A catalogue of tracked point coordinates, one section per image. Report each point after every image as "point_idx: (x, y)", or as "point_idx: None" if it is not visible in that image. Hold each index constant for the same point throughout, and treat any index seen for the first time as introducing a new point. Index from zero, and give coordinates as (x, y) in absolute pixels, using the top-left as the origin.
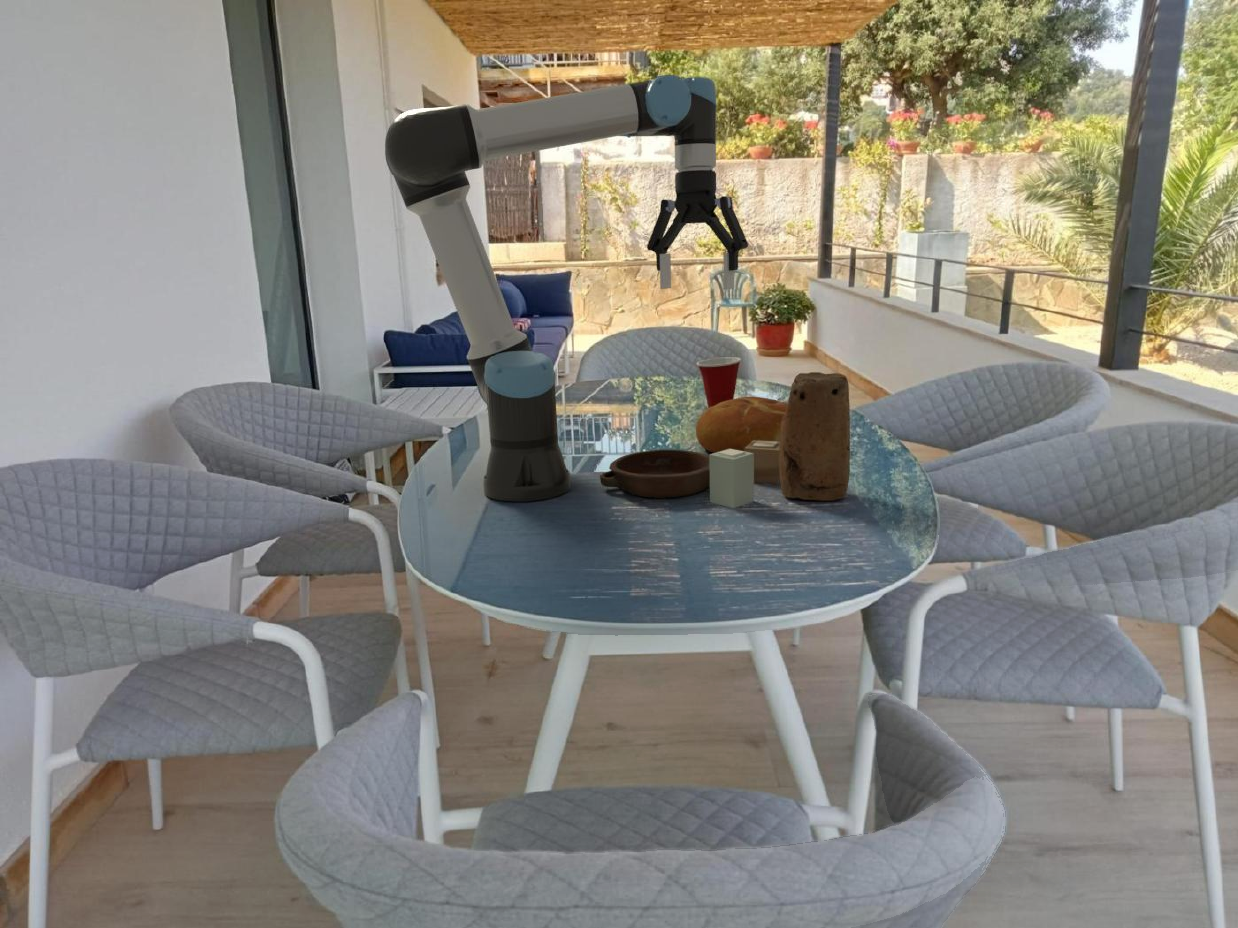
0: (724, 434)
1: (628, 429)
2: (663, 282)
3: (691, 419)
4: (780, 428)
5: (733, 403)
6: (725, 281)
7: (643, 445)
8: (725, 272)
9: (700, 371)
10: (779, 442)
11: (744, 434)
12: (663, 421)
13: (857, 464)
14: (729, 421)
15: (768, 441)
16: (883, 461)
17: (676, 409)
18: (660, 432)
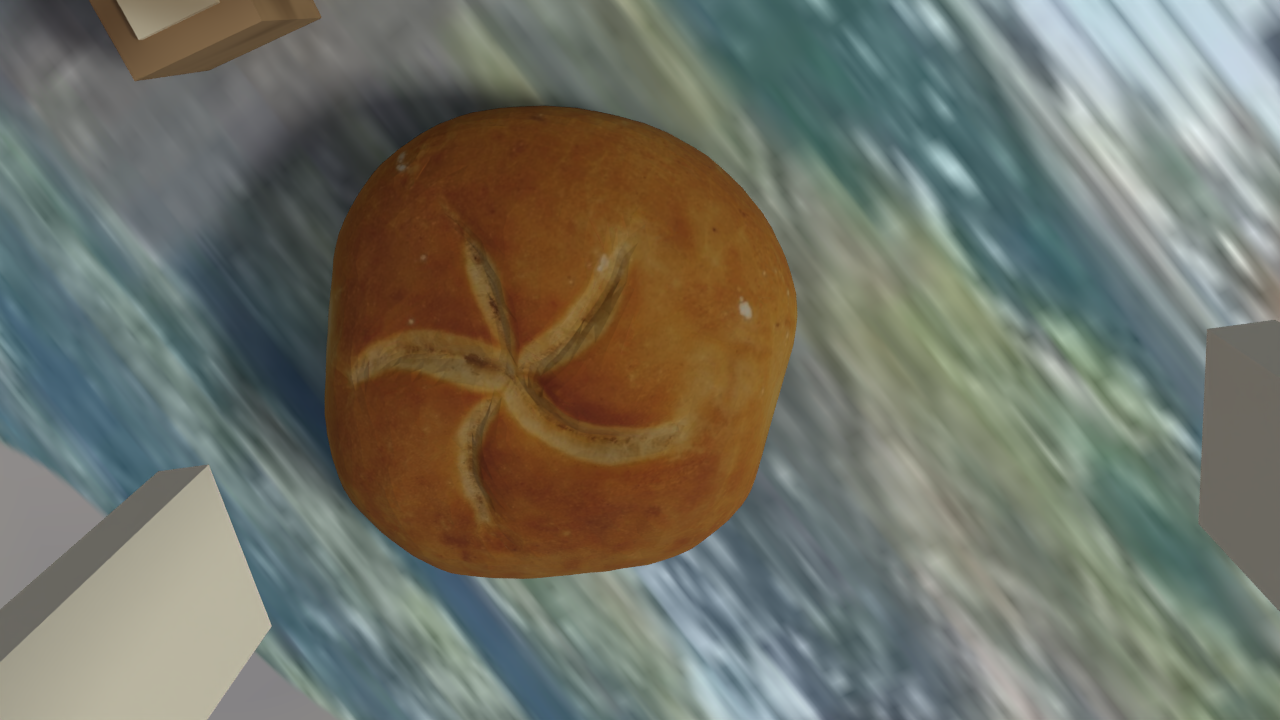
0: (504, 112)
1: (1255, 297)
2: (1269, 369)
3: (1086, 584)
4: (332, 287)
5: (591, 334)
6: (118, 526)
7: (998, 95)
8: (29, 609)
9: None
10: (149, 57)
11: (412, 143)
12: (1185, 498)
13: (127, 338)
14: (496, 162)
15: (170, 17)
16: (96, 418)
17: (1259, 695)
18: (1074, 332)
